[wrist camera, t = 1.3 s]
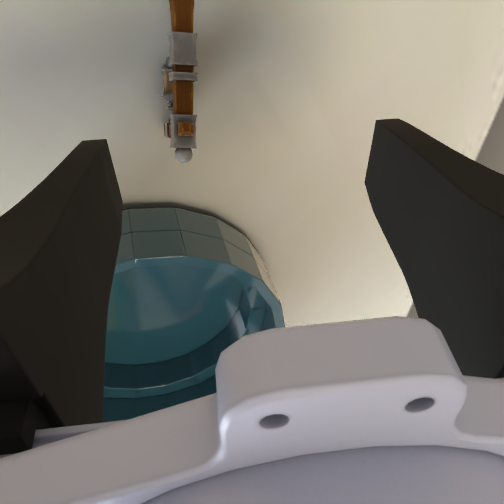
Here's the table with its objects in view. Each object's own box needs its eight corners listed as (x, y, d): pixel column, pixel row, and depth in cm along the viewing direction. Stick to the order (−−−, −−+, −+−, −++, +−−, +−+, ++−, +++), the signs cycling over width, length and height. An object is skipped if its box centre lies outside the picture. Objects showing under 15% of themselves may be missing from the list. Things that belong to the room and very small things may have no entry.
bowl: (80, 396, 35) (80, 454, 32) (-40, 250, 24) (-58, 316, 21) (275, 333, 36) (295, 383, 33) (243, 169, 26) (266, 219, 22)
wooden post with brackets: (152, 154, 22) (164, 165, 18) (146, -37, 20) (158, -73, 16) (190, 154, 23) (209, 165, 19) (188, -32, 21) (210, -66, 17)
